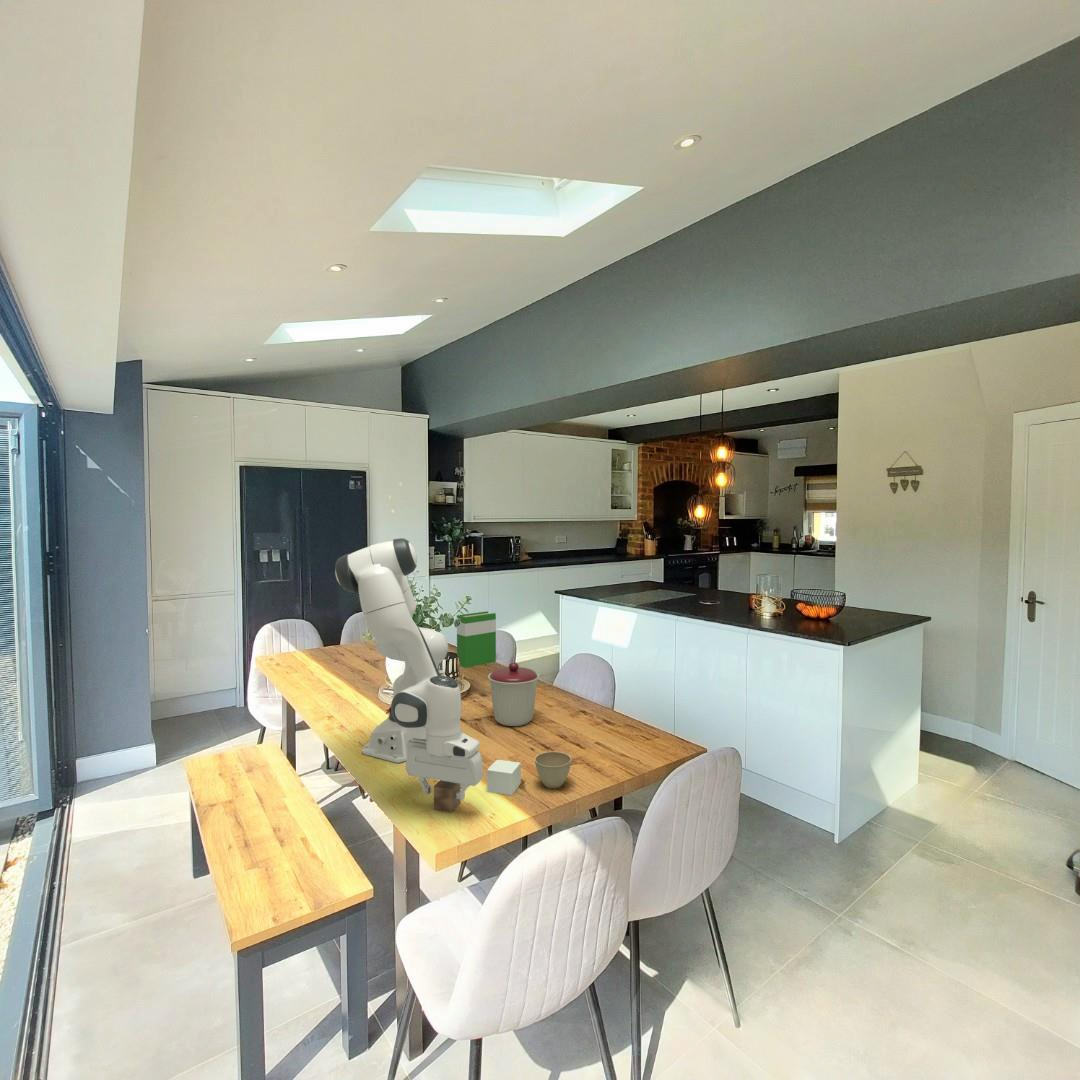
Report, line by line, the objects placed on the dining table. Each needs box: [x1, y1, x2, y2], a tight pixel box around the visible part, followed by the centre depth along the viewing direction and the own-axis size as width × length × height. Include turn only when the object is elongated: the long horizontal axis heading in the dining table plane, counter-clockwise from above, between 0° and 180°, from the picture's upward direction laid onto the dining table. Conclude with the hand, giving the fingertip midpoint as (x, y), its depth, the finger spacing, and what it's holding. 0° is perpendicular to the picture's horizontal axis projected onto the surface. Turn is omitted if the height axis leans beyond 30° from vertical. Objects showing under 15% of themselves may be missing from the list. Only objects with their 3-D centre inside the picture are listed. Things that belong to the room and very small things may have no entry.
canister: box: [487, 662, 540, 727], centre depth 212 cm, size 18×18×21 cm
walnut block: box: [432, 780, 461, 814], centre depth 151 cm, size 5×5×6 cm
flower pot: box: [534, 750, 572, 789], centre depth 164 cm, size 10×10×7 cm
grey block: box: [486, 759, 522, 796], centre depth 162 cm, size 7×7×6 cm
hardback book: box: [456, 610, 497, 669], centre depth 291 cm, size 18×7×24 cm, turn 130°
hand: (443, 796), depth 151 cm, fingers open, 8 cm apart
